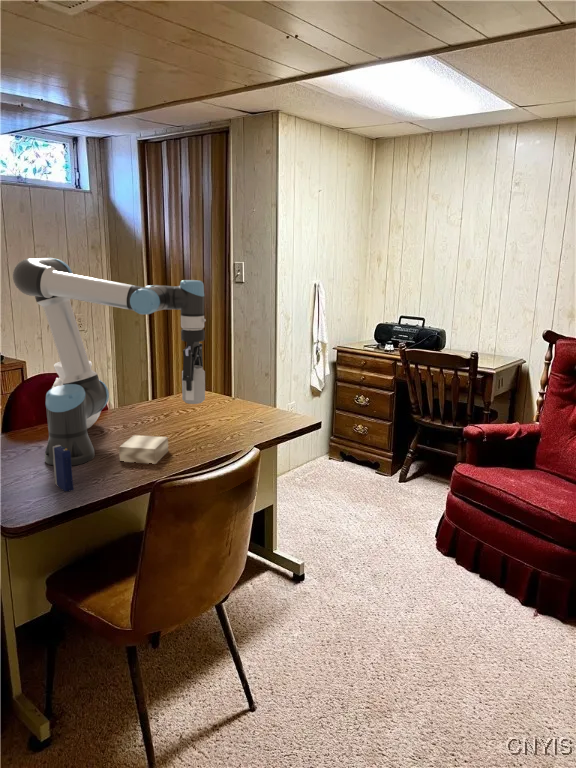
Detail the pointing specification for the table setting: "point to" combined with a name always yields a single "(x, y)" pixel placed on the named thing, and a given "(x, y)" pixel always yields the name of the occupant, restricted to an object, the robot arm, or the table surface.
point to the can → (196, 386)
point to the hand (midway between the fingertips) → (193, 396)
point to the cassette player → (62, 468)
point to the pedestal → (143, 449)
